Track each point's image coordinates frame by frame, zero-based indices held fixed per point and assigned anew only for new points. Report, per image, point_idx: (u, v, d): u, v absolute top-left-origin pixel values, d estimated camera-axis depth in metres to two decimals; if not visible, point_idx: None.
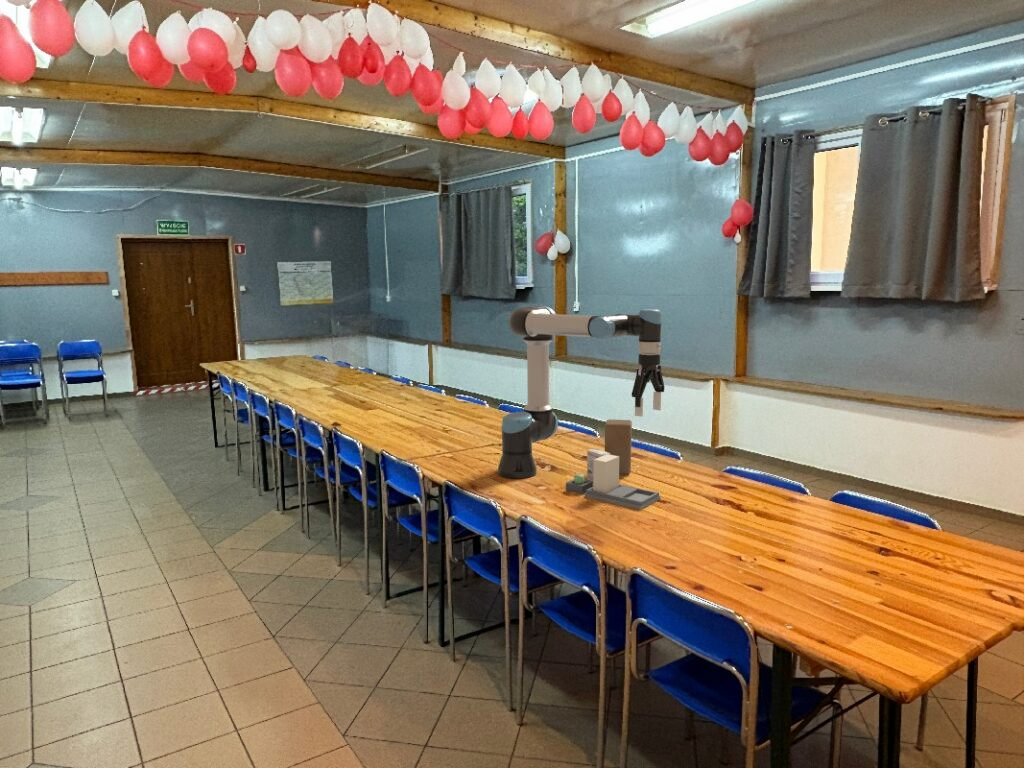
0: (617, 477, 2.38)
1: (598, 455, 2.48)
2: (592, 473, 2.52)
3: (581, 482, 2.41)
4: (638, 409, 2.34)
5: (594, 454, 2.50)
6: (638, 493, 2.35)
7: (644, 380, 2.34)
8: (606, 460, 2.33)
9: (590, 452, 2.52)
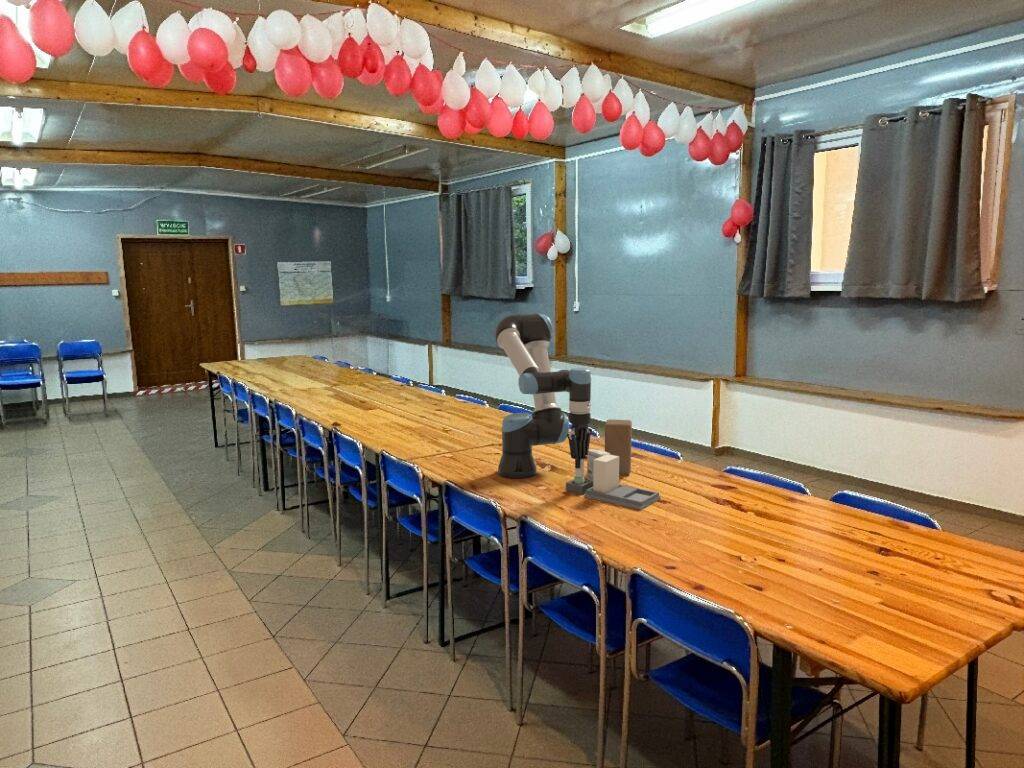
0: (617, 477, 2.38)
1: (598, 455, 2.48)
2: (592, 473, 2.52)
3: (581, 484, 2.41)
4: (578, 470, 2.41)
5: (594, 454, 2.50)
6: (638, 493, 2.35)
7: (578, 441, 2.38)
8: (606, 460, 2.33)
9: (590, 452, 2.52)
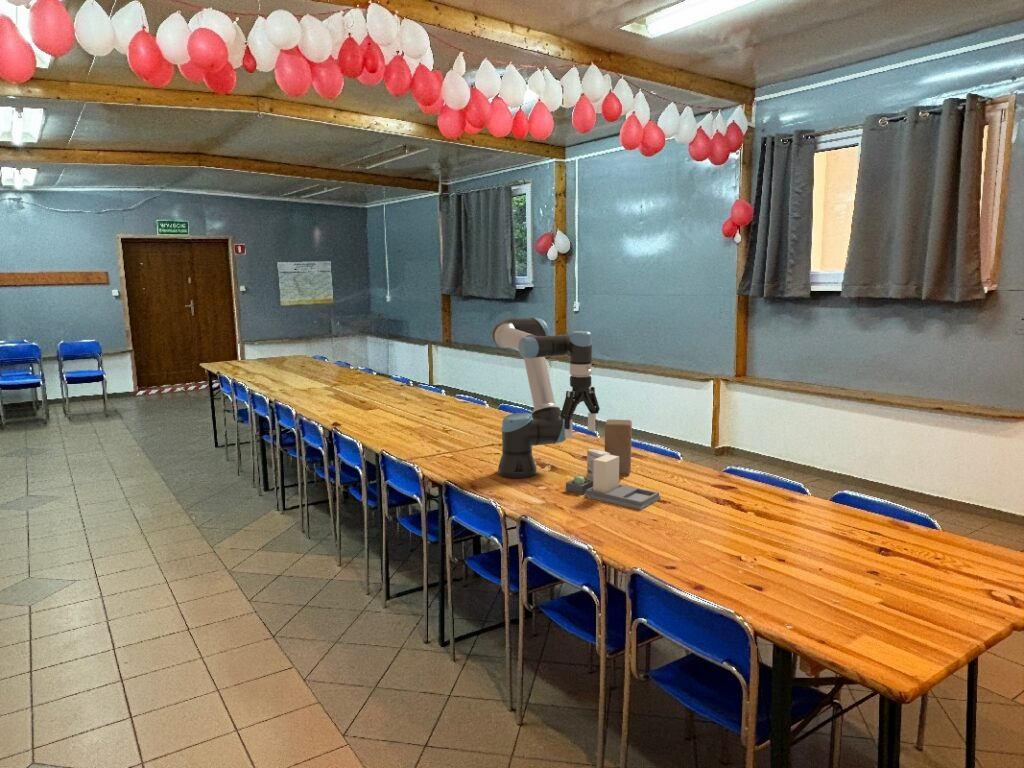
0: (617, 477, 2.38)
1: (598, 455, 2.48)
2: (592, 473, 2.52)
3: (581, 484, 2.41)
4: (568, 431, 2.34)
5: (594, 454, 2.50)
6: (638, 493, 2.35)
7: (574, 402, 2.35)
8: (606, 460, 2.33)
9: (590, 452, 2.52)
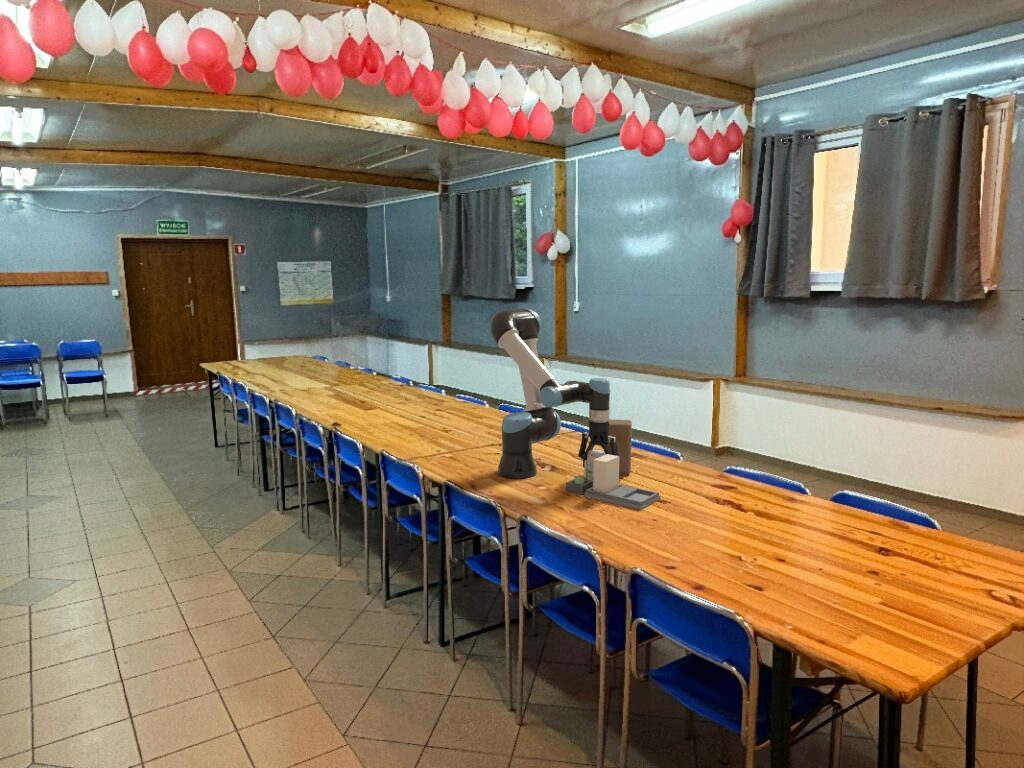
0: (617, 477, 2.38)
1: (598, 455, 2.48)
2: (592, 473, 2.52)
3: (581, 484, 2.41)
4: None
5: (594, 454, 2.50)
6: (638, 493, 2.35)
7: None
8: (606, 460, 2.33)
9: (590, 452, 2.52)
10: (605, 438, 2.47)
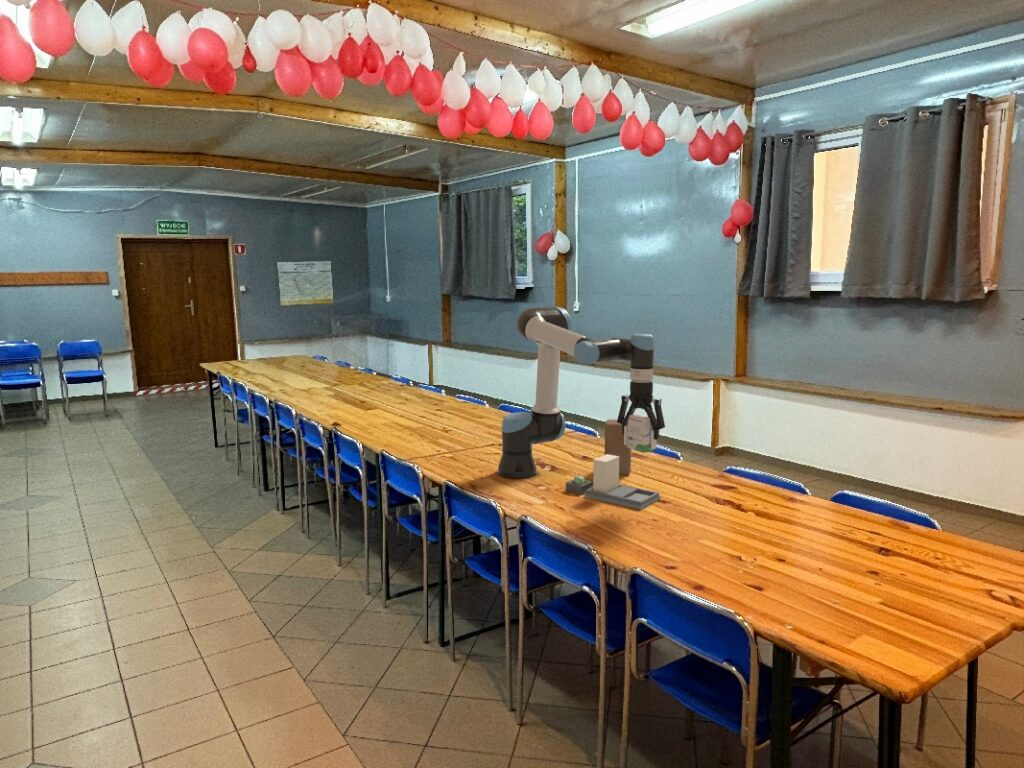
0: (617, 477, 2.38)
1: (641, 419, 2.22)
2: (633, 439, 2.26)
3: (581, 484, 2.41)
4: None
5: (636, 418, 2.24)
6: (638, 493, 2.35)
7: None
8: (606, 460, 2.33)
9: (631, 416, 2.26)
10: (648, 400, 2.22)
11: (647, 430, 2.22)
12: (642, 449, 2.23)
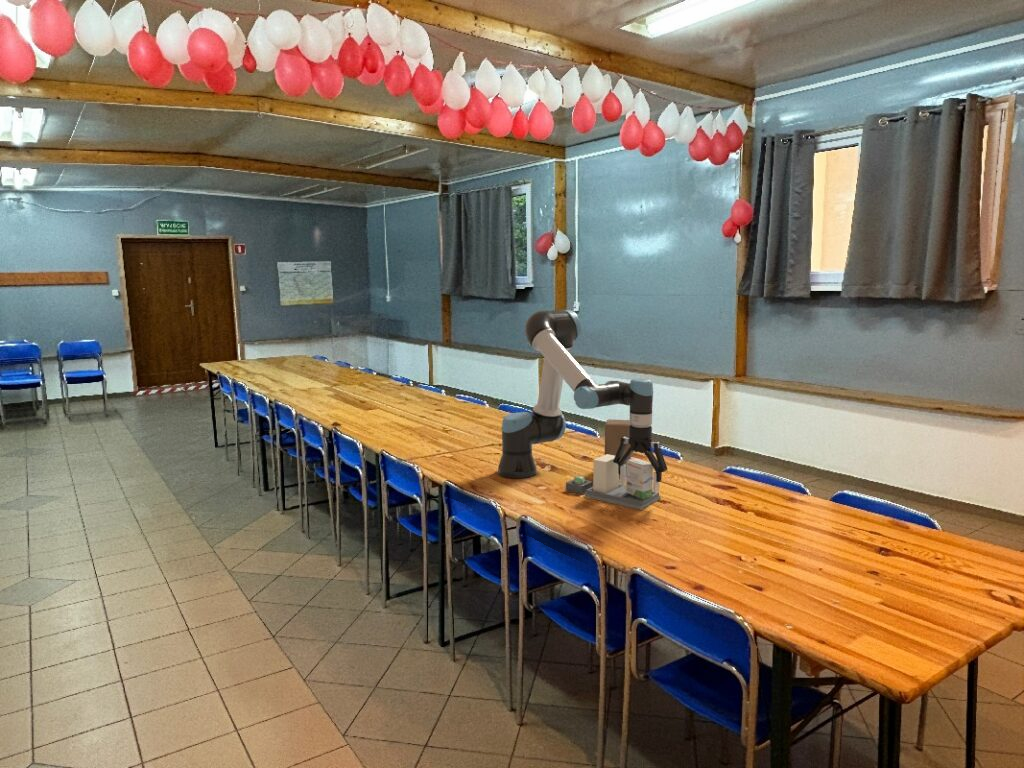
0: (617, 477, 2.38)
1: (640, 466, 2.25)
2: (632, 485, 2.29)
3: (581, 484, 2.41)
4: None
5: (635, 465, 2.27)
6: None
7: None
8: (606, 460, 2.33)
9: (630, 462, 2.29)
10: (647, 445, 2.24)
11: (646, 477, 2.25)
12: (641, 495, 2.25)
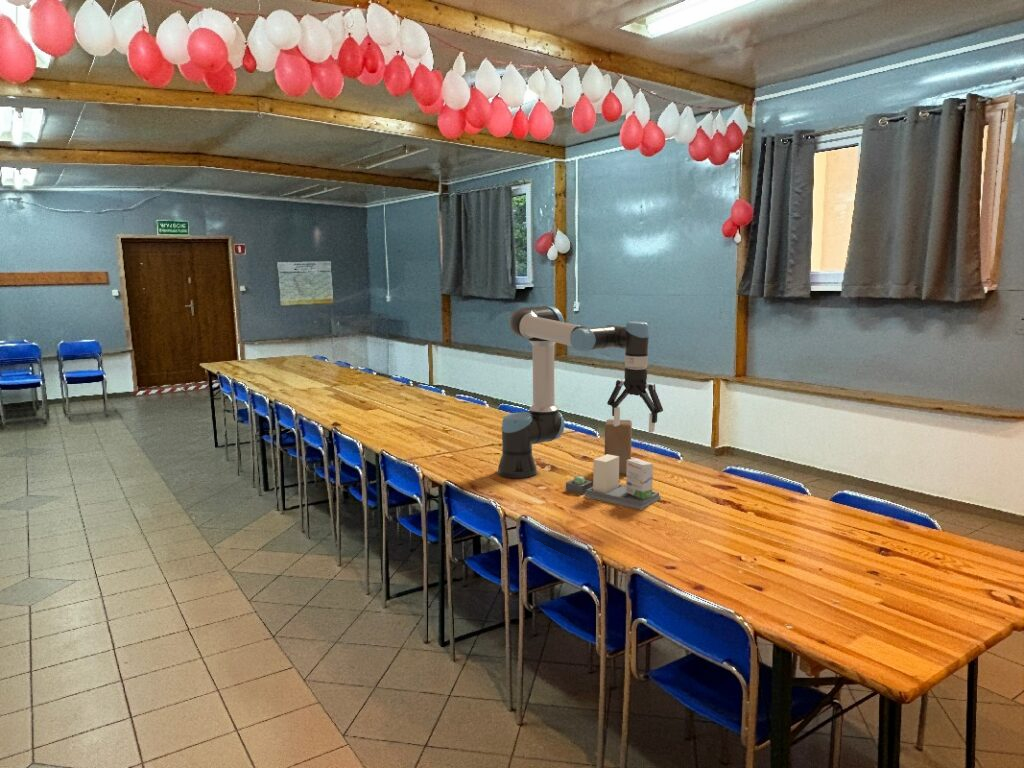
0: (617, 477, 2.38)
1: (640, 466, 2.25)
2: (632, 485, 2.29)
3: (581, 484, 2.41)
4: None
5: (635, 465, 2.27)
6: None
7: None
8: (606, 460, 2.33)
9: (630, 462, 2.29)
10: (642, 387, 2.26)
11: (646, 477, 2.25)
12: (641, 495, 2.25)
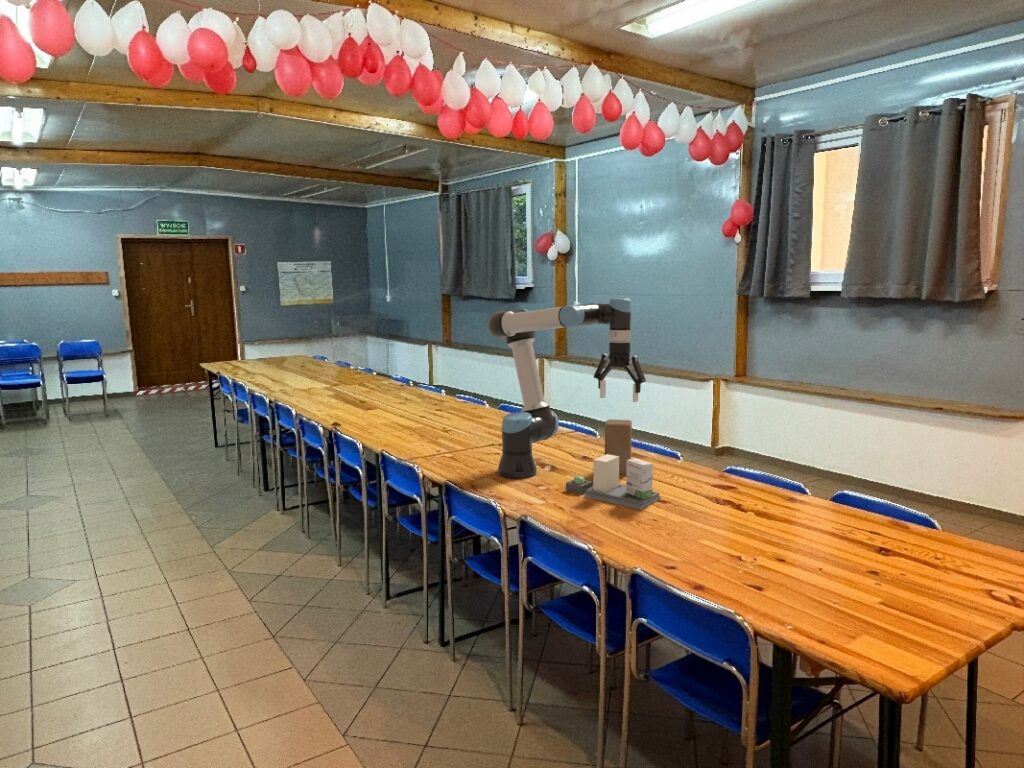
0: (617, 477, 2.38)
1: (640, 466, 2.25)
2: (632, 485, 2.29)
3: (581, 484, 2.41)
4: None
5: (635, 465, 2.27)
6: None
7: None
8: (606, 460, 2.33)
9: (630, 462, 2.29)
10: (626, 359, 2.40)
11: (646, 477, 2.25)
12: (641, 495, 2.25)
